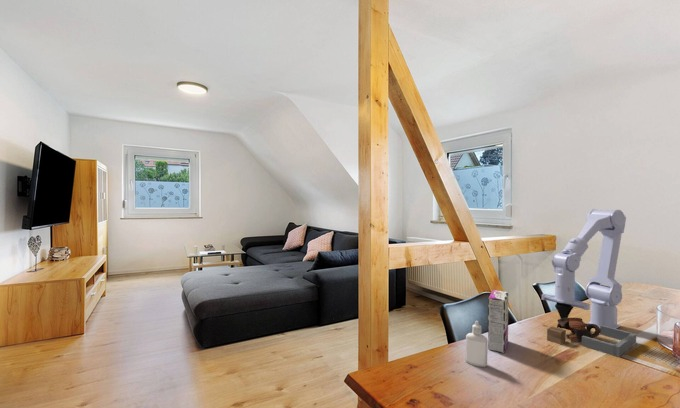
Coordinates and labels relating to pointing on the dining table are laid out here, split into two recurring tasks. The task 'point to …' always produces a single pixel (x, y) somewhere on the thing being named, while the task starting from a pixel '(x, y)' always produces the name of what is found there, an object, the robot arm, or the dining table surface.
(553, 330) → the walnut block
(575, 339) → the pottery mug
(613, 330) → the corral
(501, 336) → the candy bar box
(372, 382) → the dining table surface
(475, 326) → the eye dropper bottle
